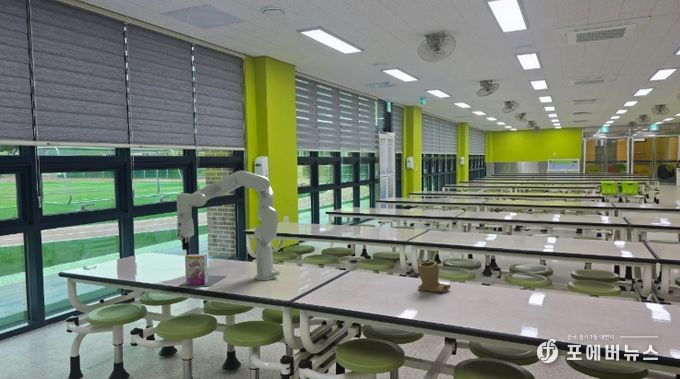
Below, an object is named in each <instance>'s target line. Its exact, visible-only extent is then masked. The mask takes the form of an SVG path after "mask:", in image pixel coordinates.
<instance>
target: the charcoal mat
mask: <svg viewBox="0 0 680 379" xmlns="http://www.w3.org/2000/svg"><path fill="white" fill-rule="evenodd" d="M225 278H227V275H208V283H207V284H205V285H195V284H194V285H193V284H187V281H185V282H183V283H181V284H179V287H195V288H196V287H197V288H198V287H199V288H201V287H202V288H209V287H211V286H213V285H214V284H217V283H218V282H220V281H221V280H223V279H225Z"/></svg>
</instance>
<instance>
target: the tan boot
mask: <svg viewBox="0 0 680 379" xmlns="http://www.w3.org/2000/svg"><path fill="white" fill-rule="evenodd" d="M417 272H418V275H419V277H420V280H421V284H419V285H418V286H417V289H418V290H420V291H426V292H427V291H428V292H437V293H445V292H447V291H449V290H450V288H451V285H450V284H445V283H440V282H439V275H440V274H439V273H440V267H439V264H438V262H436V260H435V261H434V260H431V261H430V260H429V261H422V262H420V263H419V264H418V265H417Z"/></svg>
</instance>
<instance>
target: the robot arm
mask: <svg viewBox="0 0 680 379" xmlns="http://www.w3.org/2000/svg"><path fill="white" fill-rule="evenodd" d="M241 187H246V188H249V189H252V190H255V191H256V193H257V194H258V209H257V219H258V220H259V221H260V222H261V223H260V224H259V225H257V226H256V227H255V230H254V233H253V234H254V241H255V254H256V275H255V276H254V279H255V280H257V281H269V280H273V279H275V278H277V276H280V275H281V272H280V271H276V269H275V268H274V257H273V255H274V254H273V250H274V249H273V242H274V241H275V239H276V237H277V233H278V232H277V231H278V225H279V223H278V222H279V213H278V212H277V210H276V209H275V208H274V202H275V199H274V191H273V189H272V186H271V181H270V179H269V178H267V177H266V176H264V175H259V174H257V173H254V172H249V171H247V170H238V171H235V172H233V173H231V174H229V175H227V176H225V177H223V178H221V179H219V180H216V181H215V182H212V183H211V184H209V185H207V186H204V187H202V188H201V189H198V190H196V191H194V192H193V193H188V192H187V193H186V192H185V193H178V194H177V195H176V216H177V222H176V235H177V238H178V241H181V244H182V245H181V247H182V251H188V250H190V239H191V238H192V236H194V235H195V227H194V220H193V218H192V217H193V213H192V211H193V210H192V207H202V206H204V205H206V204H207V201H210V199H213V198H216V197H220V196H224V195H227V194H228V193H230V192H233V191H235V190H236V189H238V188H241Z"/></svg>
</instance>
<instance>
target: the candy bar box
mask: <svg viewBox="0 0 680 379" xmlns="http://www.w3.org/2000/svg"><path fill="white" fill-rule="evenodd" d="M208 268H209V267H208V255H207V254H187V255H185V275H186V276H185V277H186V278H185V279H186V282H187V284H193V285H194V284H195V285H205V284H207V283H208V276H209V271H208Z"/></svg>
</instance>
